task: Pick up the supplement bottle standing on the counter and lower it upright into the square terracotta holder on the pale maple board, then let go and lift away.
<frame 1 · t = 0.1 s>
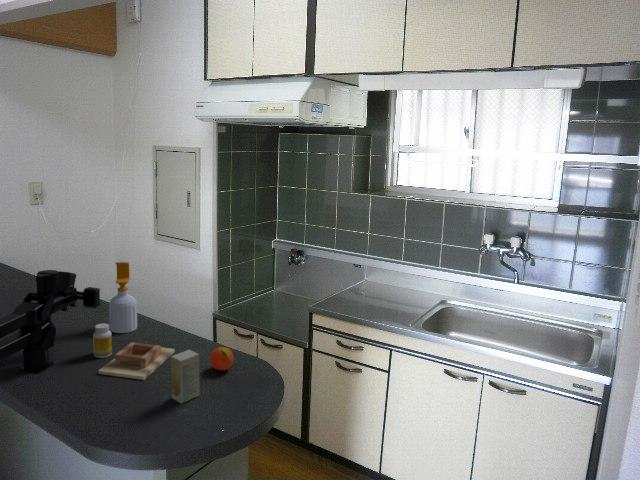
hand: (86, 288, 173), 17 cm above the counter, tool horizontal, fingers open, 9 cm apart
soap bottle: (123, 329, 184), on the counter
skincare box: (185, 397, 140), on the counter
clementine: (222, 370, 157), on the counter
maple holder board: (138, 362, 159), on the counter
supplement bottle: (102, 355, 163), on the counter
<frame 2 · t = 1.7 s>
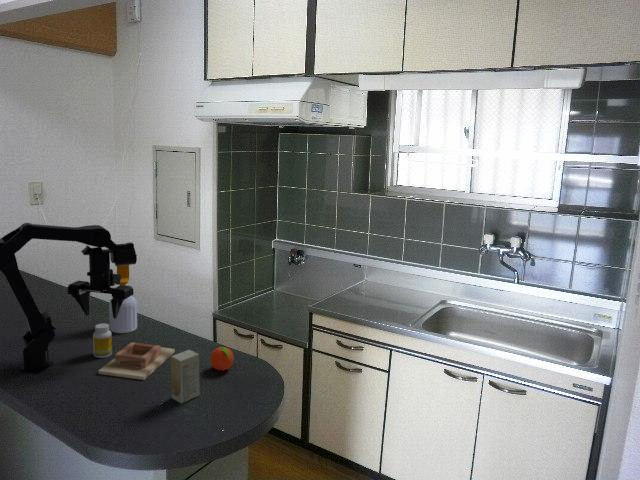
hand: (101, 316, 160), 12 cm above the counter, tool pointing down, fingers open, 9 cm apart
nothing on the counter moved.
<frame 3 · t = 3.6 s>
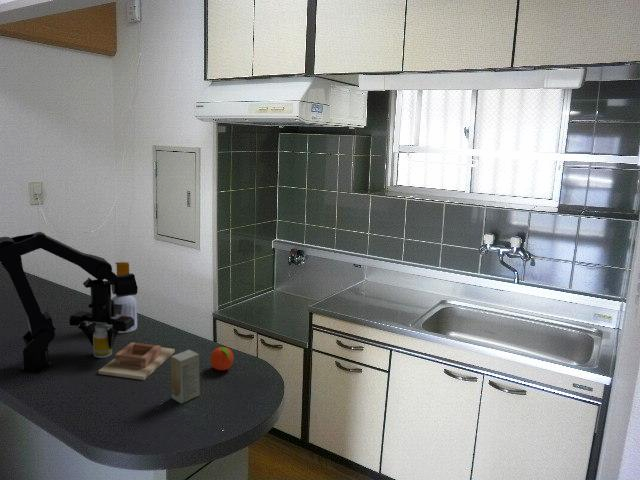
hand: (102, 347, 162), 3 cm above the counter, tool pointing down, fingers closed on supplement bottle, 5 cm apart
supplement bottle: (102, 355, 163), on the counter, touching gripper
everything else where it was.
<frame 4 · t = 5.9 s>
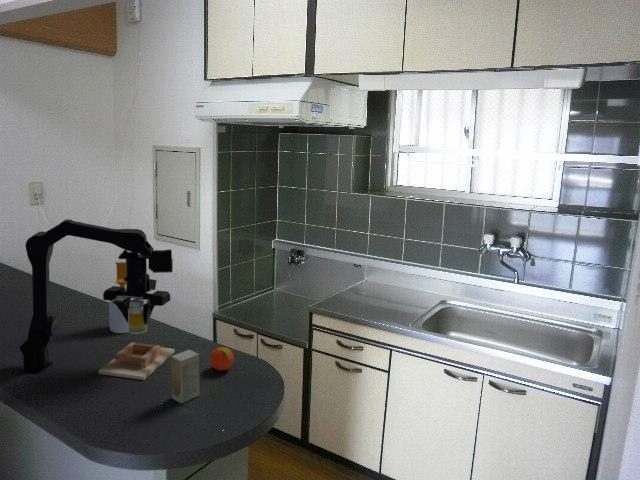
hand: (137, 323, 157), 13 cm above the counter, tool pointing down, fingers closed on supplement bottle, 5 cm apart
supplement bottle: (137, 331, 157), point 10 cm above the counter, touching gripper
everything else where it was.
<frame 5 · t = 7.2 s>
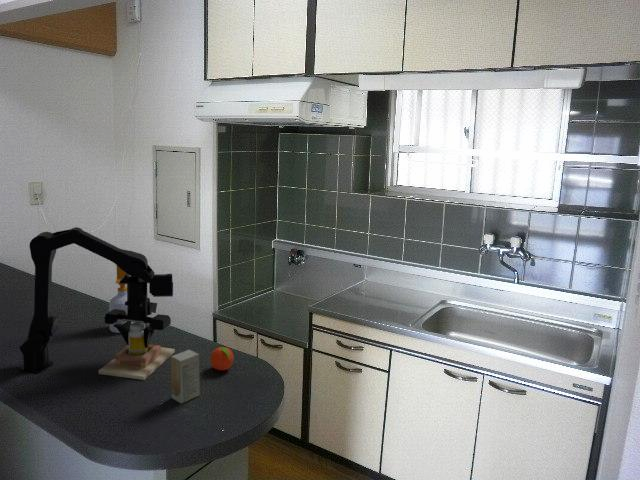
hand: (137, 346, 158), 5 cm above the counter, tool pointing down, fingers closed on supplement bottle, 5 cm apart
supplement bottle: (138, 354, 158), point 2 cm above the counter, touching gripper
everything else where it was.
when the fingers open (5 cm above the counter, at t = 8.1 s): supplement bottle drops 1 cm, resting on maple holder board.
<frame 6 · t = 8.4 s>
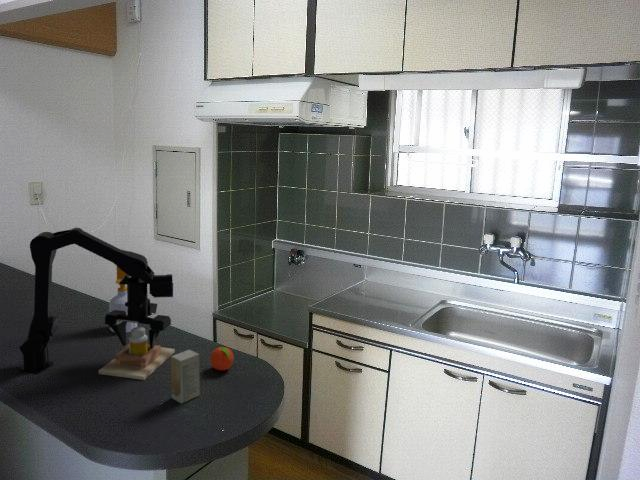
hand: (138, 346, 158), 5 cm above the counter, tool pointing down, fingers open, 9 cm apart
supplement bottle: (138, 359, 159), point 1 cm above the counter, touching maple holder board
everything else where it was.
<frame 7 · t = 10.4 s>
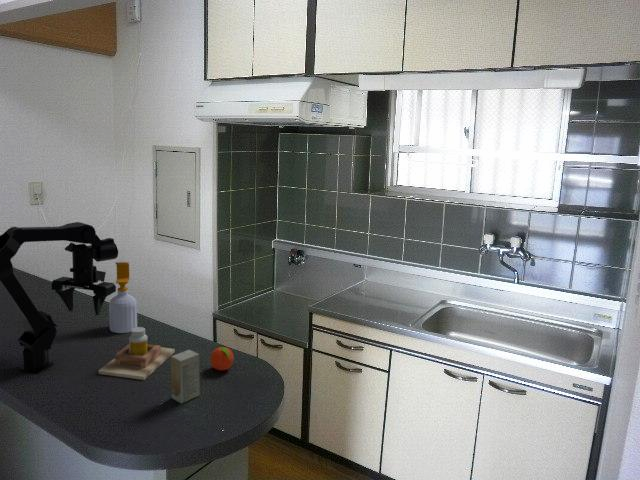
hand: (84, 313, 162), 13 cm above the counter, tool pointing down, fingers open, 9 cm apart
nothing on the counter moved.
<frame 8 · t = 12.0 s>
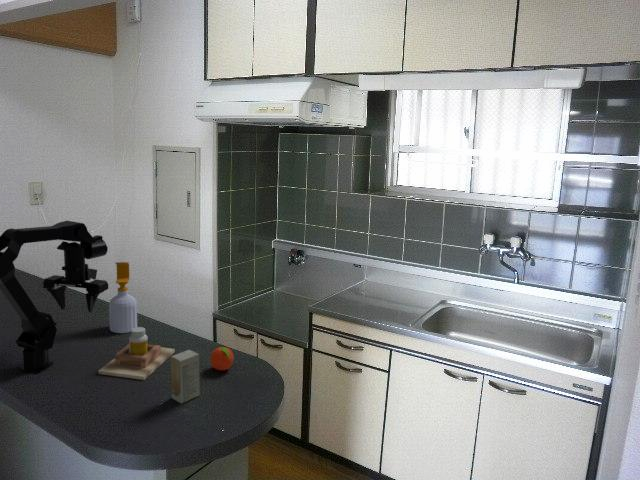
hand: (76, 310, 163), 13 cm above the counter, tool pointing down, fingers open, 9 cm apart
nothing on the counter moved.
at the end: supplement bottle 0.0 cm off-centre on the maple holder board, point 0.8 cm above the maple holder board's base; supplement bottle tilted 0°; the gripper is holding nothing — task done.
